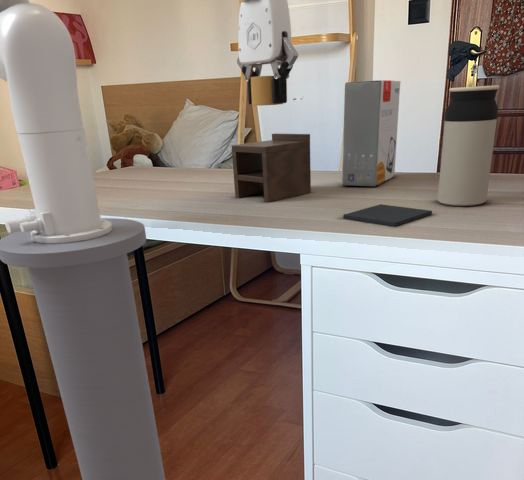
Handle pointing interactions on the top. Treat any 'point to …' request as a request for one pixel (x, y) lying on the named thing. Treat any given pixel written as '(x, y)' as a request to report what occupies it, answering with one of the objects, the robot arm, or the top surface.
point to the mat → (387, 215)
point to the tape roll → (262, 90)
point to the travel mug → (468, 145)
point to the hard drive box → (370, 132)
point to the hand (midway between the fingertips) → (267, 102)
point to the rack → (273, 167)
